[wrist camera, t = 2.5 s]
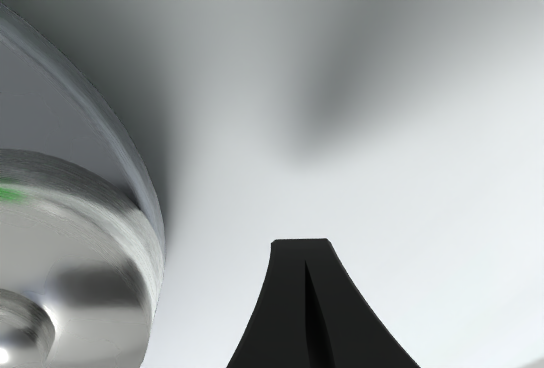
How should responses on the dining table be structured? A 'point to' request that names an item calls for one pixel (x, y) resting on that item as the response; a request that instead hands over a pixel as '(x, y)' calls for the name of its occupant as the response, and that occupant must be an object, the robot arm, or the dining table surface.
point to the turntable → (66, 116)
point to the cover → (72, 267)
